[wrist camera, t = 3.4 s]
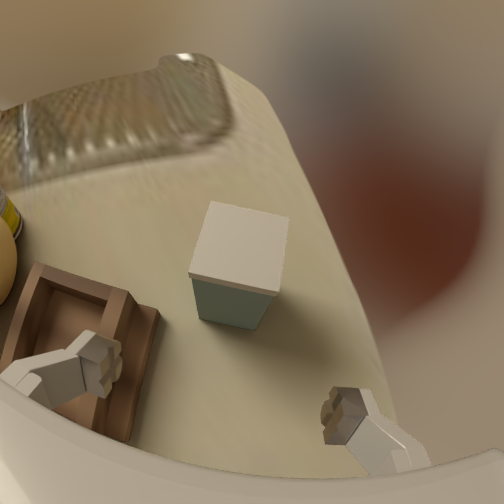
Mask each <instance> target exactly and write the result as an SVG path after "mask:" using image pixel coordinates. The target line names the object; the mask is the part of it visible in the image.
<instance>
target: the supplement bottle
mask: <svg viewBox="0 0 504 504" xmlns="http://www.w3.org/2000/svg"><path fill="white" fill-rule="evenodd" d="M0 216H1V217H2V218H3V220H4V221H5V222H6V224H7V225H8V227H9V228H10V230H11V233H12V235H13V238H14V241H15V240H16V238H17V237H18V235H19V233H20V231H21V228H22V216H21V214H20V213H19V211H18V210H17V209H16V207H15V206H14V204H13V203H12V202H11V200H10V199H9V198H8V196H7V195H6V193H5V192H4V191H3V189H2V188H1V186H0Z"/></svg>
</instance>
